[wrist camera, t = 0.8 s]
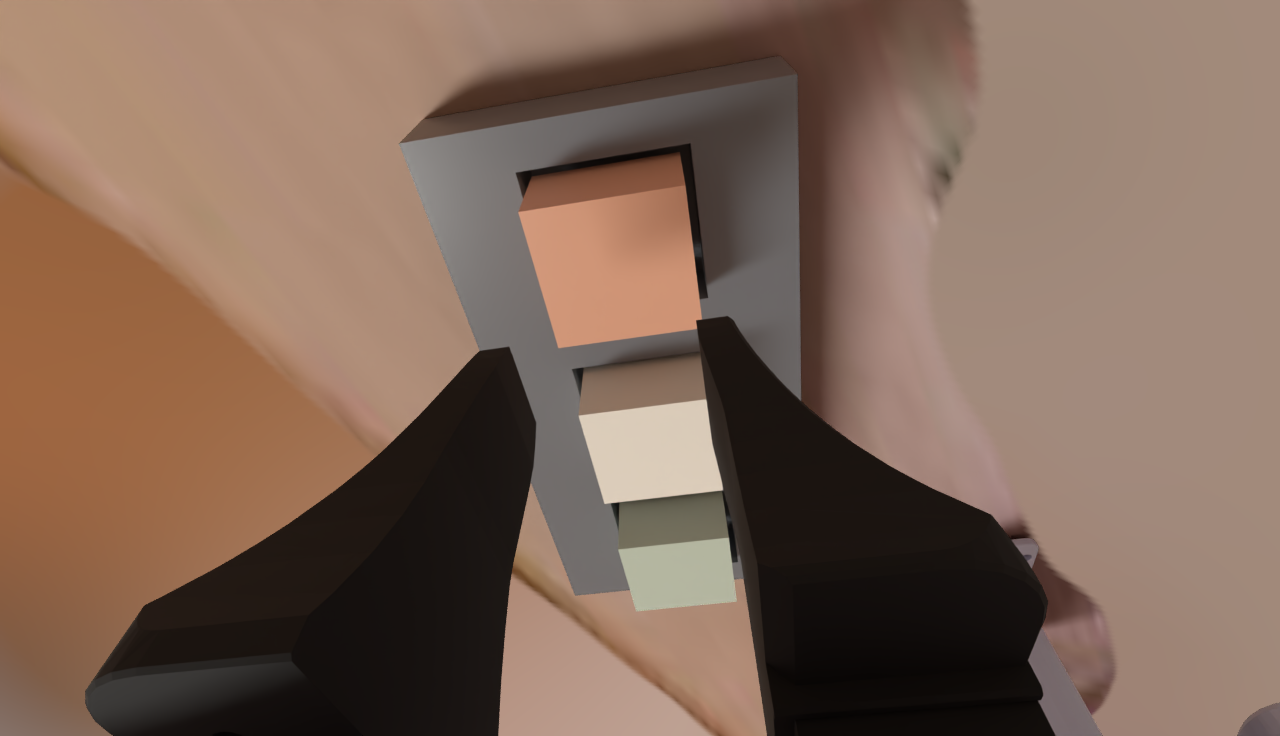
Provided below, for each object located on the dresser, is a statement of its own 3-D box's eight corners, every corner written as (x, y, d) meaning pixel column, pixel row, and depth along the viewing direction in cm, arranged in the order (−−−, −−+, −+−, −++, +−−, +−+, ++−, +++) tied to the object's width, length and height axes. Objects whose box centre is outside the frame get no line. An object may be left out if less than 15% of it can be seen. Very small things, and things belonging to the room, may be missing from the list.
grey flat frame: (792, 530, 28) (802, 572, 27) (578, 554, 29) (575, 595, 28) (780, 55, 17) (797, 73, 15) (422, 119, 18) (398, 143, 16)
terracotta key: (696, 284, 19) (703, 327, 17) (566, 303, 19) (558, 348, 17) (679, 151, 16) (685, 185, 14) (531, 176, 17) (517, 211, 15)
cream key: (715, 440, 23) (723, 490, 21) (607, 453, 23) (604, 503, 21) (704, 351, 20) (711, 398, 18) (584, 367, 21) (578, 415, 19)
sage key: (729, 550, 26) (736, 601, 24) (636, 560, 27) (636, 611, 25) (721, 486, 24) (728, 537, 22) (619, 498, 24) (618, 549, 22)
